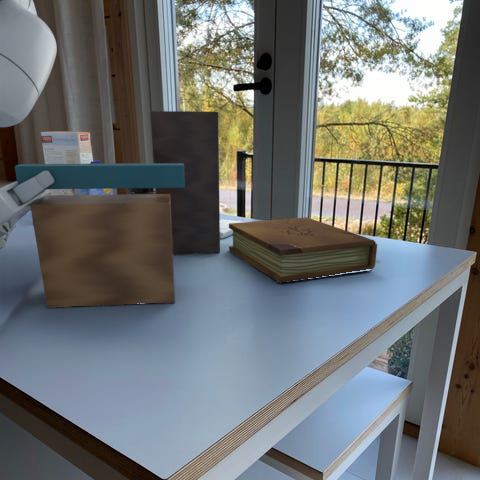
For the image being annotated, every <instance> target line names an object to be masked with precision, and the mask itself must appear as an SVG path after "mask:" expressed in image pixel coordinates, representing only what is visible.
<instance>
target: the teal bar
mask: <svg viewBox="0 0 480 480" xmlns="http://www.w3.org/2000/svg"><path fill="white" fill-rule="evenodd" d="M14 170H15V177H16V181H17V183H18V185H20V184H21V183H23V182H25V181H27V180H29V179H31V178H33V177H35V176H37V175H38V174H40V173H41V172H43V171H45V170H50V171H51V172H52V174H53V175H54V177H55V178H56V181H55V182H54V183H53V184H51V185H49V186H48V187H46V188H45V189H113V190H115V189H116V190H118V189H119V190H120V189H128V188H185V180H184V164H183V163H154V162H153V163H152V162H151V163H149V162H147V163H100V164H97V163H94V164H45V163H20V164H17V165H14Z"/></svg>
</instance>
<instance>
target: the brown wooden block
mask: <svg viewBox="0 0 480 480" xmlns="http://www.w3.org/2000/svg"><path fill="white" fill-rule="evenodd" d="M30 207H31V211H30V213H31V218H32V224H33V230H34V235H35V236H34V237H35V242H36V243H35V244H36V248H37V255H38V260H39V266H40V272H41V278H42V279H41V280H42V284H43V290H44V296H45V302H46V309H57V308H56V307H64V308H73V307H72V306H89V307H105V306H104V305H115V306H124V305H123V304H137V303H139V304H140V303H165V304H171V303H170V302H175V303H176V279H175V261H174V254H173V238H172V219H171V199H170V194H129V193H128V194H113V195H50V194H49V195H48V196H44V197H42V198H41V199H39V200H38V201H36V202H34V203H33V204H31V205H30ZM168 302H169V303H168ZM120 304H121V305H120ZM96 305H97V306H96ZM100 305H102V306H100ZM140 305H141V304H140ZM70 306H71V307H70Z"/></svg>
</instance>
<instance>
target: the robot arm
mask: <svg viewBox="0 0 480 480" xmlns="http://www.w3.org/2000/svg"><path fill="white" fill-rule="evenodd" d="M57 53H58V45H57V40H56V38H55V36H54V33H53V31H52V30H51V28H50V27H49V25H48V24H47V23H45V21H44V20H43V19H41V18H40V16H38V13H37V9H36V6H35V3H34V0H0V128H8V127H9V128H10V127H12V126H16V125H19V124H20V123H21V122H23V120H25V118H26V117H28V115H29V114H30V112H31V111H32V110H33V108H34V107H35V105H36V103H37V101H38V99H39V98H40V96H41V94H42V92H43V91H44V88H45V87H46V84H47V82H48V80H49V77H50V75H51V72H52V69H53V67H54V64H55V60H56V57H57ZM55 181H56V178H55V177H54V175H53V174H52V172H51V171H50V170H45V171H43V172H41V173H40V174H38V175H37V176H35V177H33V178H31V179H29V180H27V181H25V182H23V183H21V184H20V185H18V183H17V180H16V181H12V182H11V183H9V184H6V185H4V186H1V187H0V250H2V249H3V248H5V247H6V245H7V242H8V241H7V240H8V238H9V236H10V234H11V233H12V232H13V231H14V229H15V228H16V227H17V225H16V224H17V223H18V222H19V221H20V220H21V219H22V218H23V217H24V216H26V215H27V214H29V213H30V212H31V207H30V205H31V204H33V203H34V202H36V201H38V200H39V199H41V198H42V197H44V196H49V195H50V189H45V188H46V187H48V186H49V185H51V184H53V183H54V182H55Z"/></svg>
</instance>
